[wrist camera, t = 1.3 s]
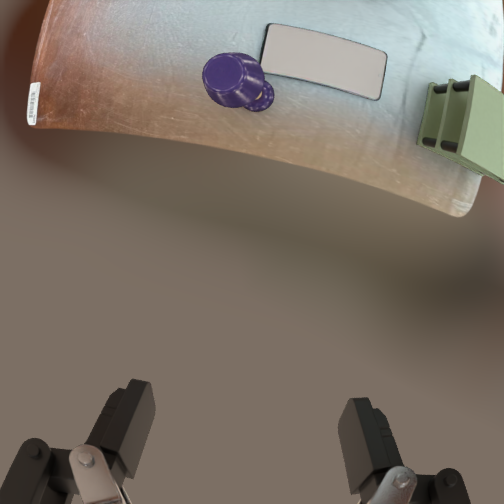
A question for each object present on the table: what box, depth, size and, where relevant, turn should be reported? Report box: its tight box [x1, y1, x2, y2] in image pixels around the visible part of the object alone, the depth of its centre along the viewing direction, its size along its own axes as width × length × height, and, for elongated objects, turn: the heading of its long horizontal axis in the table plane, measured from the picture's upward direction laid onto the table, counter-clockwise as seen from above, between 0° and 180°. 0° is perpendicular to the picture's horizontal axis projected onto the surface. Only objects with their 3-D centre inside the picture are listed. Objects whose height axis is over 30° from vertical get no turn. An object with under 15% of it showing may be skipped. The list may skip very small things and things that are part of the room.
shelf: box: [417, 75, 504, 185], centre depth 24 cm, size 12×9×11 cm
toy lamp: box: [202, 52, 274, 112], centre depth 24 cm, size 5×5×17 cm
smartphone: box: [259, 23, 388, 101], centre depth 28 cm, size 7×1×15 cm
